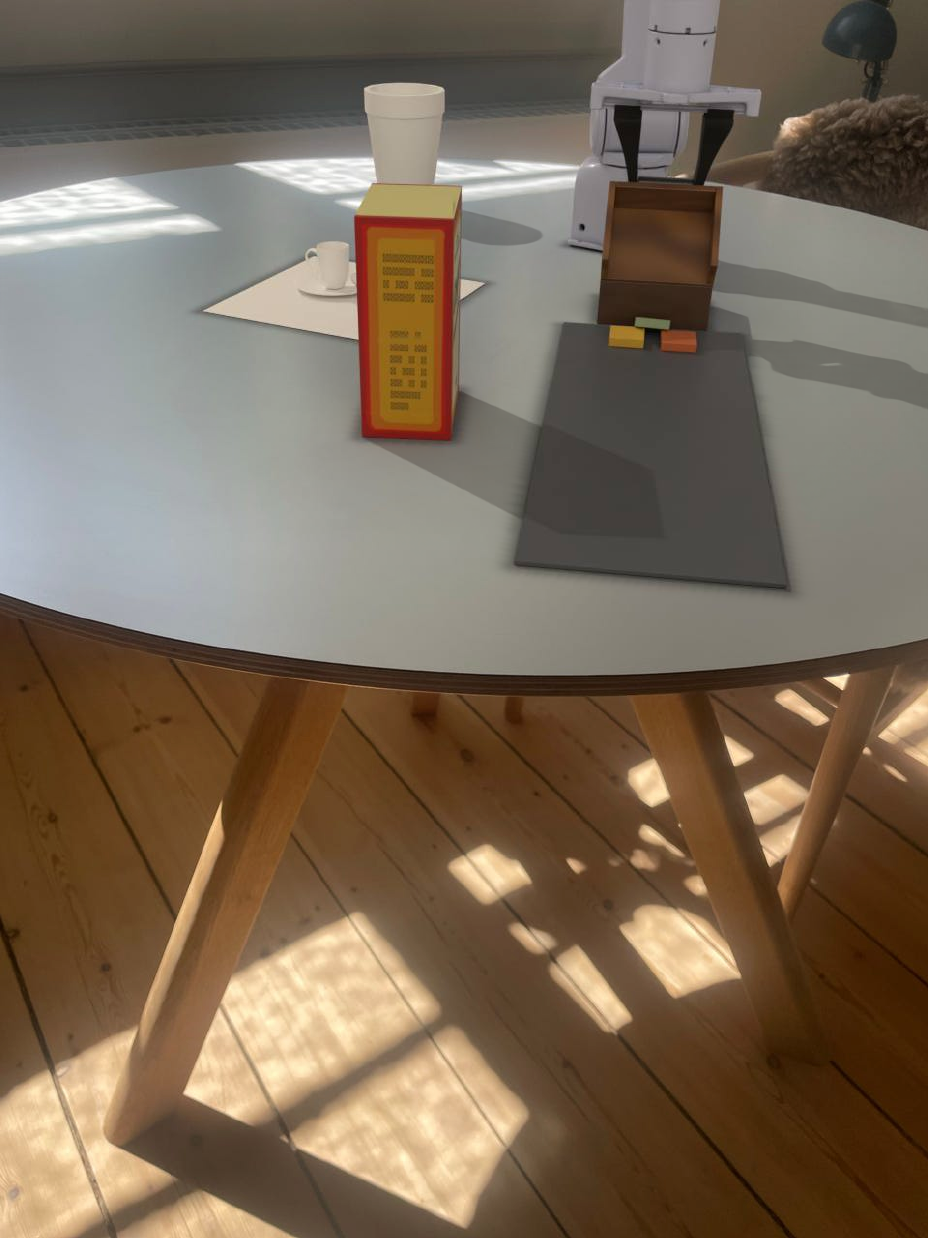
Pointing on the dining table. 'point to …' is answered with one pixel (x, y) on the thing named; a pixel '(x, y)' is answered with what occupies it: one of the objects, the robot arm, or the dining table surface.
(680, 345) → the packet
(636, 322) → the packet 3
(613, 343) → the packet
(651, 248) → the tray
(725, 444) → the mat
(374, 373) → the baking soda box
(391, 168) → the foam cup
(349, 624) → the dining table surface
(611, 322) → the brown wooden box panel
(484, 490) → the dining table surface
